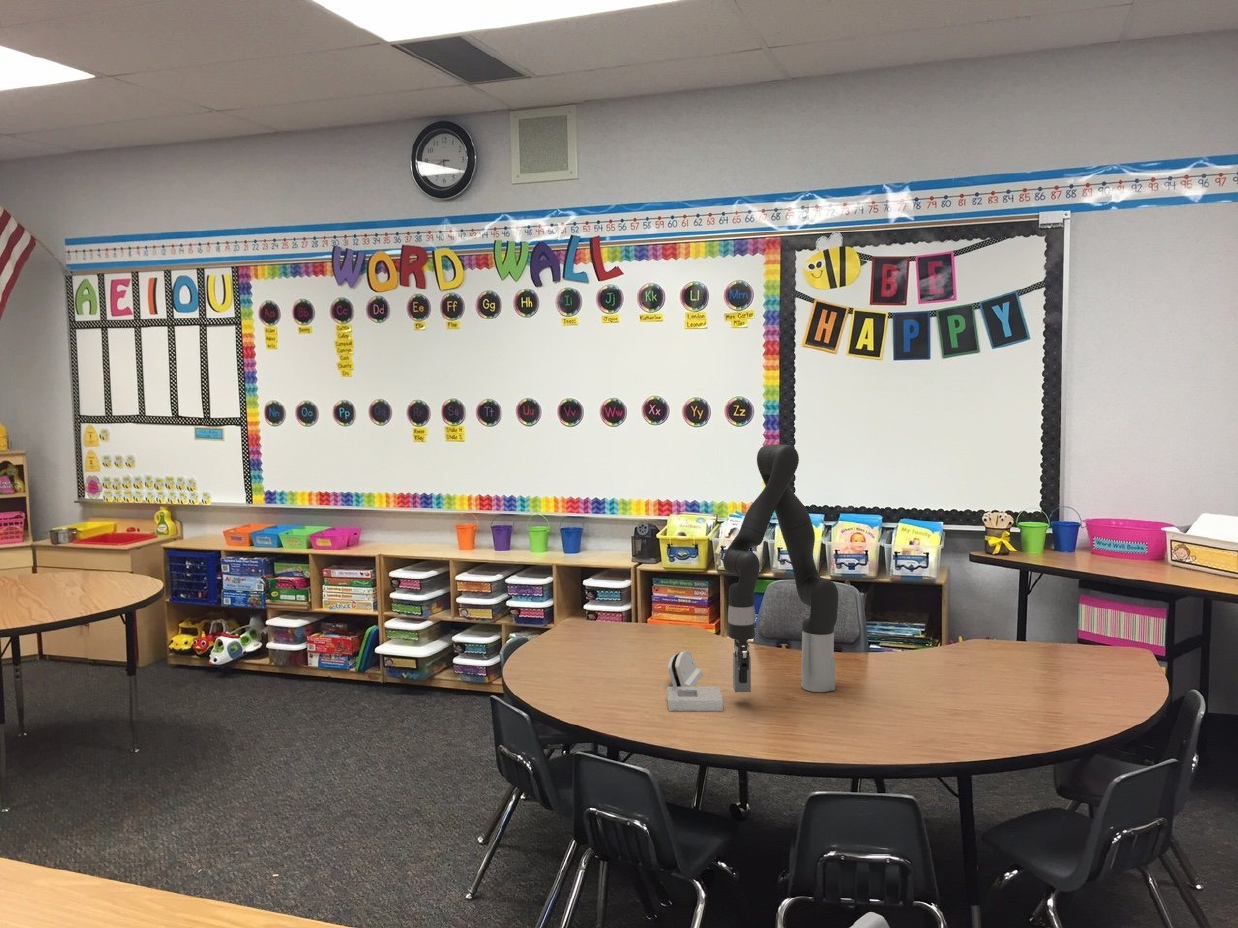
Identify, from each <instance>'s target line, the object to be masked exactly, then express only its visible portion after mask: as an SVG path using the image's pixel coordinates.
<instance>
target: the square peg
mask: <svg viewBox="0 0 1238 928" xmlns="http://www.w3.org/2000/svg"><path fill="white" fill-rule="evenodd" d="M739 659H740V657H739ZM751 661H752V658H751V655H750V654H749V670H747V683H739V669H738V667H739V664H738V661H737V657H736V654H735V652H732V663H733V664H732V682H733V683H732V686H733V687H732V688H733V690H734V693H751V692H752V687H751V685H752V681H751V679H752V677H751V674H752V673H751V672H752V671H751V669H752V668H751V666H752V665H751ZM742 666H745V663H742Z"/></svg>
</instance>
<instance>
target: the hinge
mask: <svg viewBox="0 0 1238 928" xmlns="http://www.w3.org/2000/svg"><path fill="white" fill-rule="evenodd" d="M667 671H668V673H669V677H670V681H671V684H672V687H696V686H697V684H698V683H697V682H699V681H700V680H701V679H702V677H703V676H704V674H703V671H702V669H700V668H698V667H697V665H696V662H695V660H694V657H693V654H692V653H691V651H689V650H688V651H686V650H685V651H681V652H677V653H675V654H674V655H672V656H671V658H670V660H669V662H668V667H667ZM700 678H701V679H700Z"/></svg>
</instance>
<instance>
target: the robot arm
mask: <svg viewBox="0 0 1238 928" xmlns="http://www.w3.org/2000/svg"><path fill="white" fill-rule="evenodd" d="M799 461H800V458H799V452H798V451H797V449H796V448H795V447H794V446H792V445H790V444H765V445H762V446H761V447H760V449H758V451H757V454H756V465H757V468H758V471H759V473H760V476H761V479H762V481H763V484H764V485H765V487H764V488H763V490H762V491H761V492H760V494H759V495H758V496H757V497H756V498H755V500H754V501H753V502H752V503H751V505H750V506H749V507H748V509H747V511H746V514H745V515H744V517H743V520H742V523H741V525H740V528H739V532H738V533H737V534H736V535H735V537H734V538H733V540H732V542H731V543H730V544H729V546H728V548H727V549H726V551H725V553H724V556H723V561H722V564H723V568H724V570H725V571H726V572H727V573H729V574H732V575H736V576H739V579H738V582H734V583H731V585H730V586H729V587H728V608H727V609H728V611H727V636H728V637H729V638H730V639H731V640H733V641H734V642H733V648H734V653H735V654H736V657H737V661H738V664H739V667H738V669H739V683H747V670H749V655H750V654H751V652H750V648H751V647H750V644H749V642H748V641H749V640H752V639H753V640H754V639H755V637H756V610H755V588H756V585H757V580H758V577H759V573H760V567H761V564H760V560H759V557H758V556H757V554H756V553H755V552H752V551H750V549H752V547H757V546H761V544H762V543H763V542H764V539H765V535H766V533H767V530H768V527H769V525H770V522H771V519H772V516H773V515H774V513H775V515H776V519H777V522H778V526H779V529H780V533H781V536H782V539H783V542H784V544H785V548H786V551H787V554H788V558H789V560H790V563H791V566H792V567H791V568H792V572H793V577H794V583H795V586H796V591H797V596H798V598H799V600H800V601H801V603H803V604H805V605H806V606H809V607H810V612H809V618H806V619H804V620H803V621H802V625H801V628H802V629H801V631H802V632H801V634H802V635H801V679H800V681H801V688H802V689H803V690H805V691H807V692H808V691H809V692H813V693H826V692H832V691H835V690H836V658H835V656H834V654H835V653H834V652H835V651H834V650H835V649H834V648H835V647H834V645H835V644H834V643H835V641H834V640H835V626H836V624H837V620H838V612H839V610H838V609H839V589H838V587H837V584H835V582H834V581H832V580H831V579H830V580H829V579H828V578H824V577H821V576H820V574H819V572H818V569H817V565H816V562H815V560H814V548H815V541H816V535H815V529H814V526H813V522H812V520H811V516H810V513H809V511H808V510H807V507H806V506H805V505H804V504H803V503H802V502H801V500H800V499H799V497H798V496H797V495H796V494H795V492H793V490H792V488H791V487H790V482H791V480H792V479H793V477H794V475H795V473H796V471H797V469H798V467H799V463H800V462H799ZM739 657H740V659H739ZM742 663H745V666H742Z"/></svg>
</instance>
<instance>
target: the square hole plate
mask: <svg viewBox="0 0 1238 928" xmlns="http://www.w3.org/2000/svg"><path fill="white" fill-rule="evenodd" d="M666 699H667V700H666V701H667V705H668V706H667V708H669V709H668V712H724V699H723V695H722V692H721V689H720V686H695V687H673V686H666Z"/></svg>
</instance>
